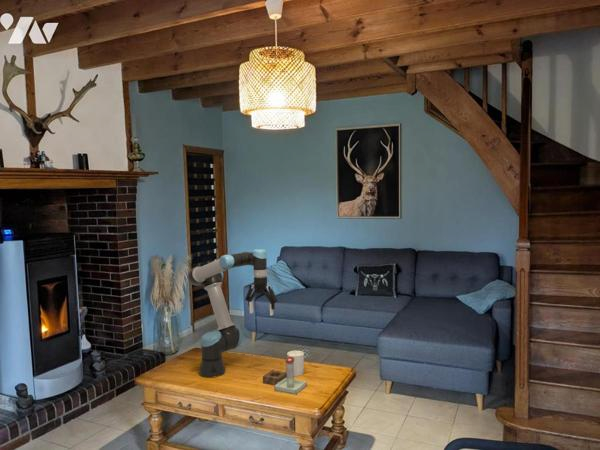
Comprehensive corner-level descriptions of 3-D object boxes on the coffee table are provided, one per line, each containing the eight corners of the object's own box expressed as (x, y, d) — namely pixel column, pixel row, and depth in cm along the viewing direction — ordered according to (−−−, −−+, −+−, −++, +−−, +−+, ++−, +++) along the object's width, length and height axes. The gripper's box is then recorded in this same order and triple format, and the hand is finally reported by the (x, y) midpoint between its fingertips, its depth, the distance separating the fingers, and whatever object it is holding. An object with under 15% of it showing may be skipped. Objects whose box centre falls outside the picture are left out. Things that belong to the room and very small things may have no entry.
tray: (274, 390, 243) (274, 385, 243) (285, 382, 254) (285, 377, 254) (295, 394, 237) (295, 390, 237) (306, 386, 248) (306, 381, 248)
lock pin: (284, 387, 245) (283, 359, 244) (288, 384, 249) (288, 356, 248) (292, 389, 242) (291, 360, 242) (296, 386, 247) (295, 357, 246)
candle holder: (302, 377, 261) (302, 356, 260) (286, 376, 263) (285, 355, 262) (306, 370, 271) (305, 350, 270) (289, 370, 272) (289, 350, 272)
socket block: (262, 383, 254) (262, 376, 254) (272, 376, 263) (272, 370, 262) (278, 386, 249) (278, 378, 249) (287, 379, 258) (287, 372, 258)
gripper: (238, 276, 261) (239, 313, 263) (275, 279, 250) (277, 317, 251) (245, 274, 268) (247, 310, 269) (282, 276, 256) (284, 314, 257)
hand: (261, 314), depth 260 cm, fingers open, 13 cm apart
